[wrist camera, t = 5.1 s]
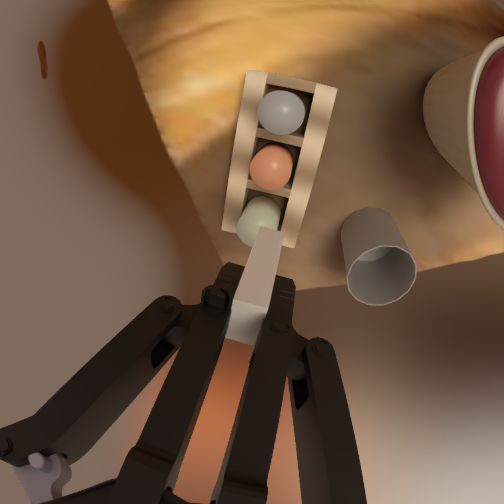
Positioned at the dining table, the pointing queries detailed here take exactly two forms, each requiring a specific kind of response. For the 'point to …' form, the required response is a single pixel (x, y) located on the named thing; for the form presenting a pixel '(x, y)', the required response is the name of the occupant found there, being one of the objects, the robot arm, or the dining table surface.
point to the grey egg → (281, 112)
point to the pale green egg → (258, 218)
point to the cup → (376, 257)
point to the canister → (471, 121)
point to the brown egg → (272, 166)
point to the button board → (253, 130)
